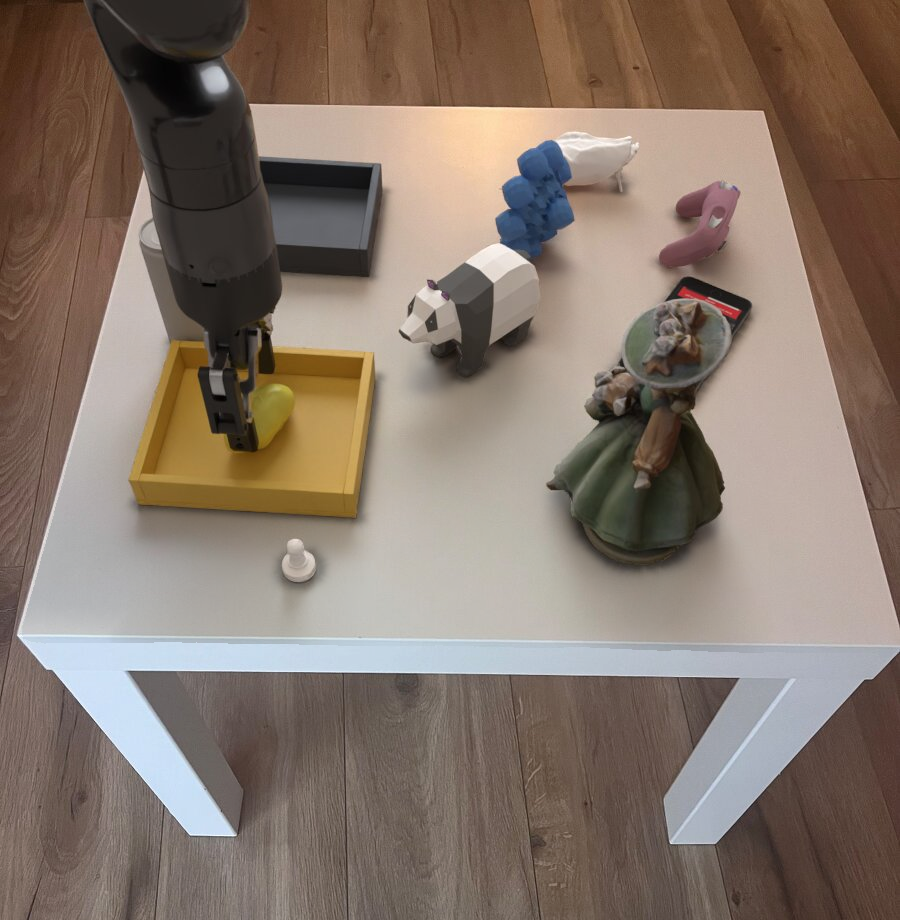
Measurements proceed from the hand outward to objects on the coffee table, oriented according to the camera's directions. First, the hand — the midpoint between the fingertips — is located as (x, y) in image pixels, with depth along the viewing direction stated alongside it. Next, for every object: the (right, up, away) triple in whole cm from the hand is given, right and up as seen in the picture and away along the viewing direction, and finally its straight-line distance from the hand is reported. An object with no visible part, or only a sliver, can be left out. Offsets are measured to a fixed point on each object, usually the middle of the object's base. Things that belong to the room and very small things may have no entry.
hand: (254, 408), depth 75 cm
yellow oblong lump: (0, -2, +3) cm, 3 cm away
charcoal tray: (+1, +22, +18) cm, 28 cm away
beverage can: (-7, +7, +9) cm, 13 cm away
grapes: (+25, +18, +16) cm, 34 cm away
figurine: (+31, -7, +1) cm, 32 cm away
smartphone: (+38, +9, +10) cm, 40 cm away
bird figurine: (+29, +29, +23) cm, 47 cm away
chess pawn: (+4, -13, -4) cm, 15 cm away
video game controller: (+41, +20, +18) cm, 49 cm away
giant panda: (+18, +7, +9) cm, 21 cm away
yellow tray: (0, -2, +3) cm, 4 cm away
